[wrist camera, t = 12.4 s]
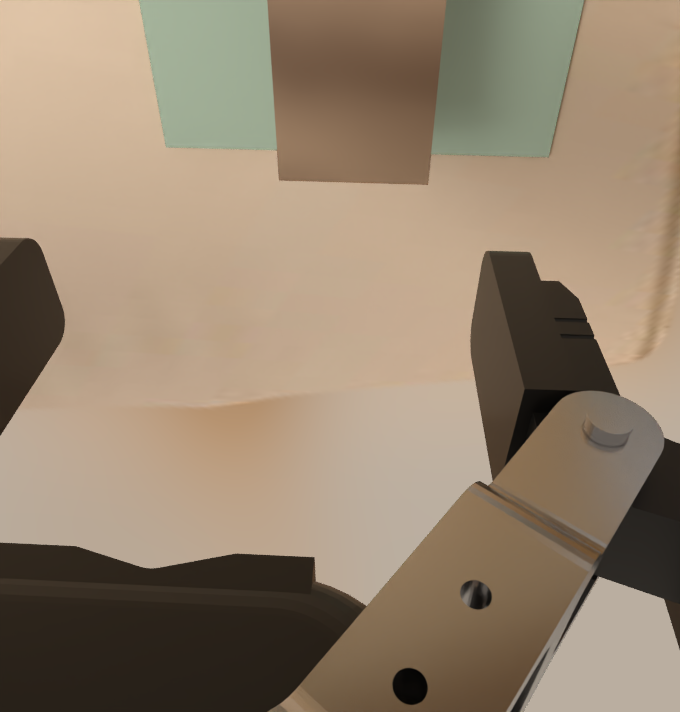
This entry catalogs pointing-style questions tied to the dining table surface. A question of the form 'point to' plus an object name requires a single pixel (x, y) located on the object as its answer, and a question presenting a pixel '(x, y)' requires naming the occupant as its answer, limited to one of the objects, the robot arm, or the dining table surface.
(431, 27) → the stool
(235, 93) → the mat
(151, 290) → the dining table surface
